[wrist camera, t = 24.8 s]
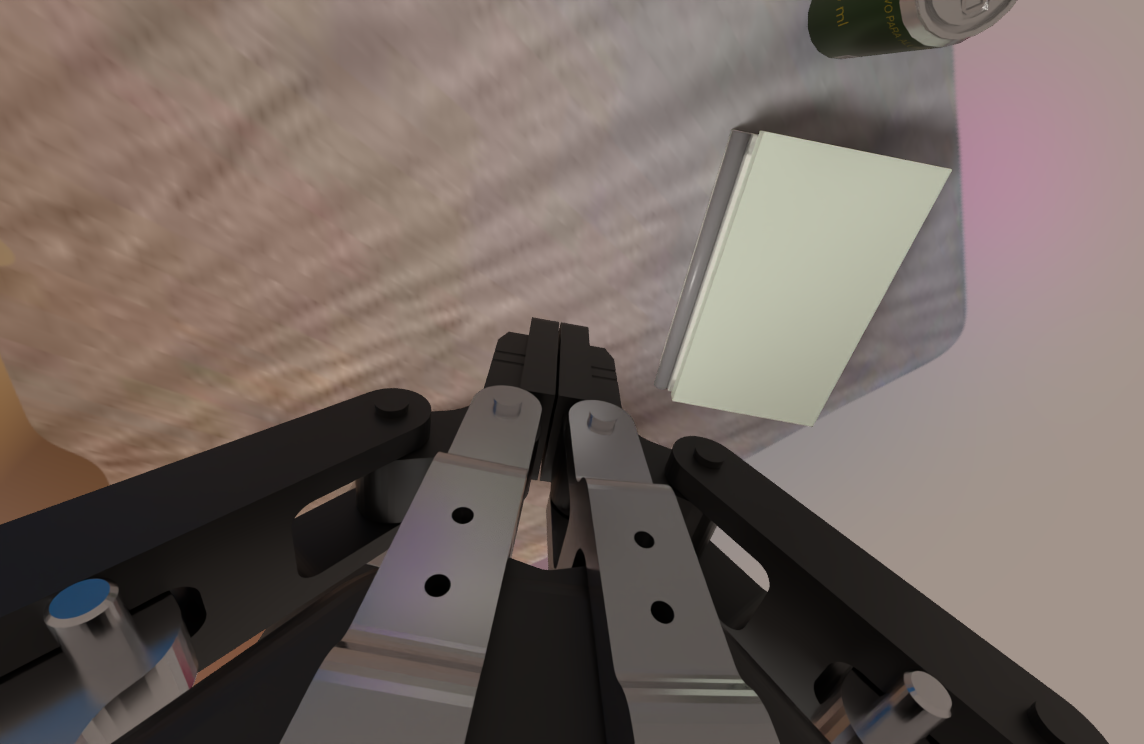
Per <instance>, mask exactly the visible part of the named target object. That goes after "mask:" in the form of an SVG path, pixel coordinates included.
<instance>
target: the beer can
mask: <svg viewBox="0 0 1144 744" xmlns="http://www.w3.org/2000/svg"><path fill="white" fill-rule="evenodd" d="M1016 1H1017V0H812V1H811V5H810V8H809V12H808V30H809V34H810V38H811V41H812V43H813V44H814V46H815V47H816V48H817V50H818V51H819V52H820V53H822V54H824V55H825V56H827V57H829V58H836V59H846V58H855V57H863V56H872V55H880V54H889V53H898V52H906V51H915V50H924V49H932V48H941V47H945V46H950V45H954V44H958V43H961V42H963V41H964V40H966V39H968V38H970V37H971V36H975V35H977V34H979V33H980V32H982V31H984V30H986V29H988V28H989V27H991V26H993V25H994V24H995V23H996V22H997V21H998V20H1000V19H1001V18H1002V17H1003V16H1004V15H1005V14H1006V13H1007V12H1008V11H1010V9H1011V8H1012V7H1013V5H1014V4H1015V3H1016Z"/></svg>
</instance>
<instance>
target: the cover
mask: <svg viewBox="0 0 1144 744" xmlns="http://www.w3.org/2000/svg"><path fill="white" fill-rule="evenodd" d="M951 171H952V169H948V168H943V167H938V166H933V165H928V164H923V163H918V162H913V161H908V160H904V159H899V158H894V157H889V156H884V155H879V154H874V153H869V152H864V151H859V150H854V149H849V148H844V147H839V146H834V145H830V144H825V143H820V142H815V141H810V140H805V139H800V138H795V137H790V136H785V135H780V134H775V133H770V132H765V131H760V132H759V135H758V138H757V141H756V144H755V147H754V150H753V153H752V156H751V159H750V162H749V164H748V167H747V170H746V173H745V176H744V179H743V182H742V185H741V188H740V191H739V194H738V197H737V200H736V203H735V206H734V209H733V212H732V215H731V218H730V221H729V224H728V227H727V230H726V233H725V236H724V239H723V242H722V245H721V248H720V251H719V254H718V257H717V260H716V262H715V265H714V268H713V271H712V274H711V277H710V280H709V283H708V286H707V289H706V292H705V295H704V298H703V301H702V304H701V307H700V310H699V313H698V316H697V319H696V322H695V325H694V328H693V331H692V334H691V337H690V340H689V343H688V346H687V349H686V352H685V355H684V357H683V360H682V363H681V366H680V369H679V372H678V375H677V378H676V381H675V384H674V387H673V390H672V393H671V397H672V401H675V402H681V403H686V404H692V405H697V406H702V407H708V408H713V409H719V410H724V411H729V412H735V413H740V414H746V415H751V416H756V417H762V418H767V419H773V420H778V421H784V422H789V423H794V424H800V425H805V426H811V427H813V425H814V423H815V422H816V420H817V418H818V416H819V414H820V412H821V411H822V409H823V407H824V405H825V403H826V401H827V400H828V398H829V396H830V394H831V392H832V390H833V388H834V387H835V385H836V383H837V381H838V379H839V377H840V376H841V374H842V372H843V370H844V368H845V366H846V364H847V363H848V361H849V359H850V357H851V355H852V353H853V352H854V350H855V348H856V346H857V344H858V342H859V341H860V339H861V337H862V335H863V333H864V331H865V329H866V328H867V326H868V324H869V322H870V320H871V318H872V317H873V315H874V313H875V311H876V309H877V307H878V306H879V304H880V302H881V300H882V298H883V296H884V294H885V293H886V291H887V289H888V287H889V285H890V283H891V282H892V280H893V278H894V276H895V274H896V272H897V270H898V269H899V267H900V265H901V263H902V261H903V259H904V258H905V256H906V254H907V252H908V250H909V248H910V247H911V245H912V243H913V241H914V239H915V237H916V235H917V234H918V232H919V230H920V228H921V226H922V224H923V223H924V221H925V219H926V217H927V215H928V213H929V212H930V210H931V208H932V206H933V204H934V202H935V200H936V199H937V197H938V195H939V193H940V191H941V189H942V188H943V186H944V184H945V182H946V180H947V178H948V176H949V175H950V173H951Z"/></svg>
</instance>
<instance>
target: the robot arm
mask: <svg viewBox="0 0 1144 744" xmlns="http://www.w3.org/2000/svg"><path fill="white" fill-rule="evenodd" d="M615 371H616V369H615V363H614V359H613V358H612V356H611V355H610V354H609V353H608V352H607V350H606V349H605V348H600V347H594V346H590V344H589V330H588V327H584V326H579V325H573V324H567V323H562V322H561V324H560V328H559V322H556V321H550V320H544V319H539V318H533V317H532V320H531V326H530V332H529V335H525V334H519V333H513V332H508V333H507V334H505V335H504V336H502V337H501V338H500V339H498V342H497V345H496V349H495V352H494V356H493V359H492V362H491V366H490V369H489V373H488V376H487V379H486V383H485V386H484V389H482V390H481V391H479V392H478V393H477V394H476V395H475V396H474V398H473V400H472V402H471V404H470V406H467V407H465V408H461V409H457V410H450V411H433V412H431V406H430V403H429V402H428V401H427V399H426V398H424V397H423V396H422V395H420V394H418V393H416V392H413V391H410V390H405V389H398V388H387V389H380V390H375V391H372V392H369V393H366V394H363V395H360V396H357V397H355V398H352V399H349V400H346V401H343V402H341V403H338V404H335V405H332V406H330V407H327V408H324V409H321V410H318V411H316V412H313V413H310V414H307V415H304V416H302V417H299V418H296V419H293V420H291V421H288V422H285V423H282V424H279V425H277V426H274V427H271V428H268V429H266V430H263V431H260V432H257V433H254V434H252V435H249V436H246V437H243V438H240V439H238V440H235V441H232V442H229V443H227V444H224V445H221V446H218V447H215V448H213V449H210V450H207V451H204V452H202V453H199V454H196V455H193V456H190V457H188V458H185V459H182V460H179V461H176V462H174V463H171V464H168V465H165V466H163V467H160V468H157V469H154V470H151V471H149V472H146V473H143V474H140V475H138V476H135V477H132V478H129V479H126V480H124V481H121V482H118V483H115V484H112V485H110V486H107V487H104V488H101V489H99V490H96V491H93V492H90V493H88V494H85V495H82V496H79V497H76V498H73V499H71V500H68V501H65V502H62V503H60V504H57V505H54V506H51V507H48V508H46V509H43V510H40V511H37V512H35V513H32V514H29V515H26V516H23V517H21V518H18V519H15V520H12V521H9V522H7V523H4V524H1V525H0V744H1109V743H1108V742H1107V741H1106V740H1105V738H1104V737H1103V736H1102V734H1100V732H1099V731H1098V730H1097V729H1096V728H1095V727H1094V725H1093V724H1092V723H1091V722H1090V721H1089V720H1088V719H1086V717H1085V716H1084V715H1082V714H1081V713H1080V712H1079V711H1078V710H1077V709H1076V708H1075V707H1074V706H1072V705H1071V704H1070V703H1068V702H1067V701H1066V700H1065V699H1063V698H1062V697H1061V696H1059V695H1058V694H1057V693H1055V692H1054V691H1053V690H1051V689H1050V688H1048V687H1047V686H1046V685H1044V684H1043V683H1042V682H1040V681H1039V680H1038V679H1037V678H1035V677H1034V676H1033V675H1031V674H1030V673H1029V672H1027V671H1026V670H1024V669H1023V668H1022V667H1020V666H1019V665H1018V664H1016V663H1015V662H1014V661H1012V660H1011V659H1010V658H1008V657H1007V656H1006V655H1004V654H1003V653H1002V652H1000V651H999V650H998V649H996V648H995V647H994V646H992V645H991V644H989V643H988V642H987V641H985V640H984V639H983V638H981V637H980V636H979V635H977V634H976V633H975V632H973V631H972V630H971V629H969V628H968V627H967V626H965V625H964V624H963V623H961V622H960V621H959V620H957V619H956V618H955V617H953V616H952V615H951V614H949V613H948V612H946V611H945V610H944V609H942V608H941V607H940V606H938V605H937V604H936V603H934V602H933V601H931V600H930V599H929V598H928V597H926V596H925V595H924V594H922V593H921V592H920V591H918V590H917V589H916V588H914V587H913V586H912V585H910V584H909V583H907V582H906V581H905V580H903V579H902V578H901V577H899V576H898V575H897V574H895V573H894V572H893V571H891V570H890V569H888V568H887V567H886V566H884V565H883V564H882V563H881V562H879V561H878V560H877V559H875V558H874V557H873V556H871V555H870V554H868V553H867V552H866V551H864V550H863V549H862V548H860V547H859V546H858V545H856V544H855V543H854V542H852V541H851V540H850V539H848V538H847V537H846V536H844V535H843V534H841V533H840V532H839V531H837V530H836V529H835V528H834V527H832V526H831V525H829V524H828V523H827V522H825V521H824V520H823V519H821V518H820V517H819V516H817V515H816V514H815V513H813V512H812V511H811V510H809V509H808V508H807V507H805V506H804V505H803V504H801V503H800V502H799V501H797V500H796V499H794V498H793V497H792V496H790V495H789V494H788V493H786V492H785V491H784V490H782V489H781V488H780V487H778V486H777V485H776V484H774V483H773V482H772V481H770V480H769V479H768V478H766V477H765V476H763V475H762V474H761V473H759V472H758V471H757V470H755V469H754V468H753V467H751V466H750V465H749V464H747V463H746V462H745V461H743V460H742V459H741V458H739V457H738V456H737V455H735V454H734V453H733V452H731V451H730V450H729V449H727V448H726V447H724V446H723V445H721V444H719V443H717V442H715V441H713V440H710V439H707V438H703V437H697V436H687V437H683V438H680V439H678V440H677V441H676V442H675V444H674V445H673V448H672V449H669V448H666V447H664V446H661V445H658V444H656V443H653V442H651V441H648V440H646V439H644V438H643V437H641V436H639V435H638V433H637V430H636V427H635V423H634V421H633V419H632V418H631V416H630V415H629V414H628V413H627V412H625V411H624V410H623V409H622V407H621V401H620V394H619V388H618V382H617V376H616V372H615ZM541 460H542V464H541ZM540 465H541V476H540V481H547V482H551V491H550V495H549V500H548V504H547V509H546V518H547V545H548V570H542V569H539V568H536V567H534V566H531V565H528V564H525V563H523V562H520V561H517V560H514V559H512V558H511V557H512V552H513V548H514V543H515V539H516V534H517V530H518V525H519V521H520V516H521V511H522V507H523V502H524V499H525V498H526V496H527V494H528V492H529V487H530V482H531V479H532V480H537V479H538V474H539V469H540ZM353 481H354V482H353ZM351 482H353V484H352V486H351V488H350V490H349V491H348V492H346V493H344V494H342V495H340V496H338V497H336V498H334V499H332V500H330V501H328V502H326V503H324V504H322V505H320V506H318V507H316V508H314V509H312V510H310V511H308V512H306V513H304V514H302V515H300V516H298V517H296V515H297V514H298V513H299V512H300V511H301V510H302V509H303V508H304V507H305V506H306V505H308V504H309V503H311V502H313V501H314V500H317V499H319V498H321V497H323V496H325V495H327V494H329V493H331V492H333V491H335V490H337V489H339V488H341V487H343V486H345V485H347V484H349V483H351ZM295 517H296V518H295ZM716 526H718V527H719V528H721V529H722V530H723V531H724V532H725V533H726V534H727V535H728V536H730V537H731V538H732V539H733V540H734V541H735V542H736V543H738V544H739V545H740V546H741V547H742V548H743V549H744V550H745V551H747V552H748V553H749V554H750V555H751V556H752V557H753V558H755V559H756V560H757V561H758V562H759V563H760V564H761V565H762V567H763V568H764V569H765V571H766V573H767V575H768V578H769V582H770V587H769V590H768V592H767V591H765V590H764V589H762V588H761V587H760V586H759V585H758V584H757V583H756V582H755V581H754V580H753V579H752V578H750V577H749V576H748V575H747V574H746V573H745V572H744V571H743V570H742V569H741V568H739V567H738V566H737V565H736V564H735V563H734V562H733V561H732V560H730V558H729V557H728V556H726V555H725V554H724V553H723V552H722V551H721V550H720V549H719V548H718V547H717V546H715V545H714V544H713V543H712V542H711V541H710V539H711V537H712V535H713V533H714V530H715V528H716ZM264 629H266V630H265V631H264V633H263V634H262V636H261V637H260V639H259V640H258V642H257V643H255V644H254V645H252V646H251V647H249V648H248V649H247V650H245V651H244V652H242V653H241V654H239V655H238V656H237V657H235V658H234V659H232V660H231V661H229V662H228V663H226V664H225V665H223V666H222V667H221V668H219V669H218V670H217V671H215V672H214V673H212V674H210V675H209V676H208V677H206V678H205V679H203V680H202V681H200V682H199V683H198V684H196V685H195V686H193V684H194V682H195V679H196V675H197V673H198V672H200V671H201V670H203V669H204V668H206V667H207V666H209V665H210V664H212V663H213V662H215V661H216V660H218V659H220V658H221V657H223V656H224V655H226V654H227V653H229V652H230V651H232V650H233V649H235V648H236V647H238V646H240V645H241V644H243V643H244V642H246V641H248V640H249V639H251V638H252V637H253V636H255V635H257V634H258V633H260V632H261V631H263V630H264ZM192 686H193V687H192Z"/></svg>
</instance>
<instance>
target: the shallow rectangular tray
mask: <svg viewBox="0 0 1144 744" xmlns="http://www.w3.org/2000/svg"><path fill="white" fill-rule="evenodd" d="M758 135H759V134H754V133H749V132H744V131H739V130H734V129H732V130H731V133H730V136H729V140H728V143H727V146H726V149H725V152H724V156H723V159H722V162H721V165H720V169H719V172H718V175H717V178H716V182H715V185H714V188H713V191H712V195H711V198H710V201H709V204H708V207H707V211H706V214H705V217H704V220H703V224H702V227H701V230H700V233H699V237H698V240H697V243H696V246H695V249H694V253H693V256H692V259H691V262H690V266H689V269H688V272H687V275H686V279H685V282H684V285H683V288H682V292H681V295H680V298H679V301H678V304H677V308H676V311H675V314H674V317H673V321H672V324H671V327H670V330H669V334H668V337H667V340H666V343H665V347H664V350H663V353H662V356H661V359H660V365H659V368H658V372H657V375H656V378H655V381H654V386H655V387H657V388H659V389H667V388H668V391H672V390H673V387H674V384H675V381H676V378H677V375H678V372H679V369H680V366H681V363H682V360H683V357H684V355H685V352H686V349H687V346H688V343H689V340H690V337H691V334H692V331H693V328H694V325H695V322H696V319H697V316H698V313H699V310H700V307H701V304H702V301H703V298H704V295H705V292H706V289H707V286H708V283H709V280H710V277H711V274H712V271H713V268H714V265H715V262H716V260H717V257H718V254H719V251H720V248H721V245H722V242H723V239H724V236H725V233H726V230H727V227H728V224H729V221H730V218H731V215H732V212H733V209H734V206H735V203H736V200H737V197H738V194H739V191H740V188H741V185H742V182H743V179H744V176H745V173H746V170H747V167H748V164H749V162H750V159H751V156H752V153H753V150H754V147H755V144H756V141H757V138H758Z"/></svg>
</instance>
